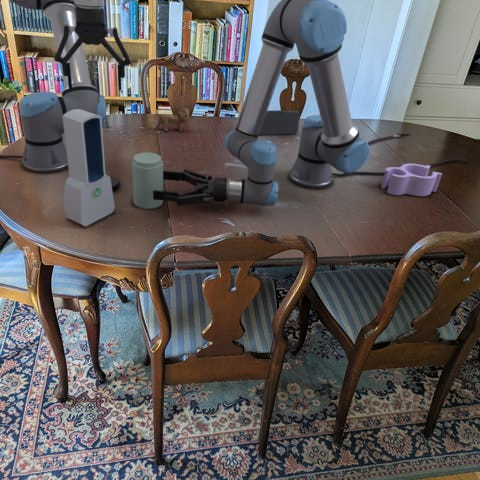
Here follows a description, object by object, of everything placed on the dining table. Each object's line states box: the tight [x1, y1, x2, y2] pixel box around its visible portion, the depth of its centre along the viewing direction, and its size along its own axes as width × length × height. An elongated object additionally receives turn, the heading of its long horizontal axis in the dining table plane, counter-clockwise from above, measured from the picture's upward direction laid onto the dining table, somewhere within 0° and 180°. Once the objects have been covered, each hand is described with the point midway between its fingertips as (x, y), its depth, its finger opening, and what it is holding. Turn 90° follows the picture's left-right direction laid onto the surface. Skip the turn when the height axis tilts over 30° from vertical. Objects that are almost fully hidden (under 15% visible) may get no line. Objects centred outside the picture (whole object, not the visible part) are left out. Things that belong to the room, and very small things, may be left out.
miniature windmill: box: [86, 51, 110, 128], centre depth 183 cm, size 9×8×30 cm
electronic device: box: [63, 109, 116, 227], centre depth 126 cm, size 12×8×30 cm, turn 148°
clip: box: [380, 163, 443, 197], centre depth 168 cm, size 20×12×7 cm, turn 109°
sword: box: [367, 133, 409, 146], centre depth 213 cm, size 31×3×1 cm, turn 126°
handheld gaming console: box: [258, 109, 301, 136], centre depth 202 cm, size 23×3×10 cm, turn 108°
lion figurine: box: [154, 107, 190, 132], centre depth 195 cm, size 15×5×9 cm, turn 110°
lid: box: [107, 174, 120, 192], centre depth 149 cm, size 10×10×2 cm
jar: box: [131, 151, 164, 210], centre depth 140 cm, size 9×9×15 cm
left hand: (95, 88), depth 134 cm, fingers open, 13 cm apart
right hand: (156, 184), depth 141 cm, fingers open, 13 cm apart
